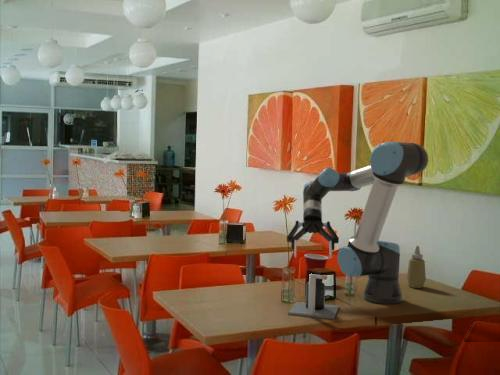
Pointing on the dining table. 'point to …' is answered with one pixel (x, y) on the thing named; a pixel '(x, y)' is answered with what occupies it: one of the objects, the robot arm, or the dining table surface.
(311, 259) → the plastic cup
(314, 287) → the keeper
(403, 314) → the dining table surface
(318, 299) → the supplement bottle
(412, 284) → the squeeze bottle
